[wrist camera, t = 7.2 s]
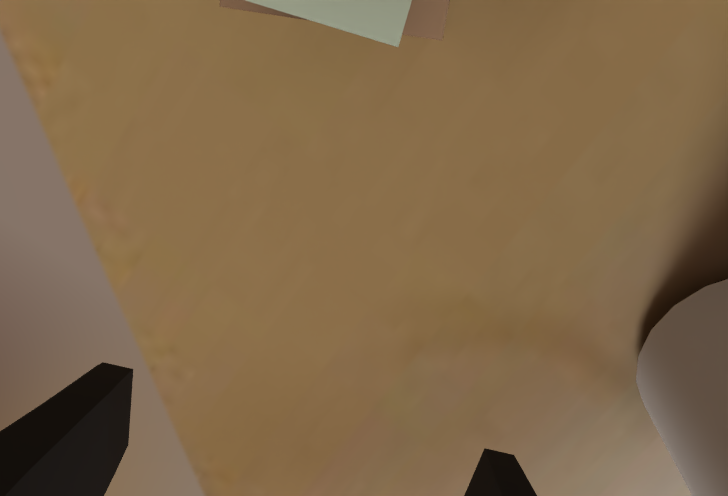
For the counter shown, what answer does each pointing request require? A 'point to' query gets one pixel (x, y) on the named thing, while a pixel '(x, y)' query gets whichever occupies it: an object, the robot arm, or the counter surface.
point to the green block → (351, 15)
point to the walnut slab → (420, 22)
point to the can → (691, 387)
